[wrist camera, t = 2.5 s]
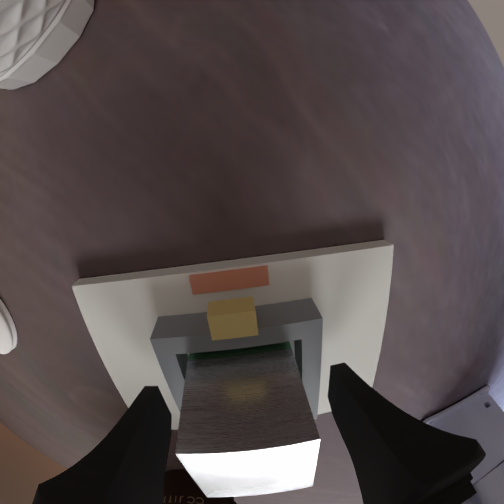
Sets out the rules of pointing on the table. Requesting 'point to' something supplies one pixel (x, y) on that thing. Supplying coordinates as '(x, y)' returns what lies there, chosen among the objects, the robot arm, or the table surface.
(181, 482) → the coffee mug
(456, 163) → the table surface
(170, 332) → the stand
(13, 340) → the chess piece
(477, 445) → the robot arm
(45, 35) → the white cup
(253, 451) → the column
